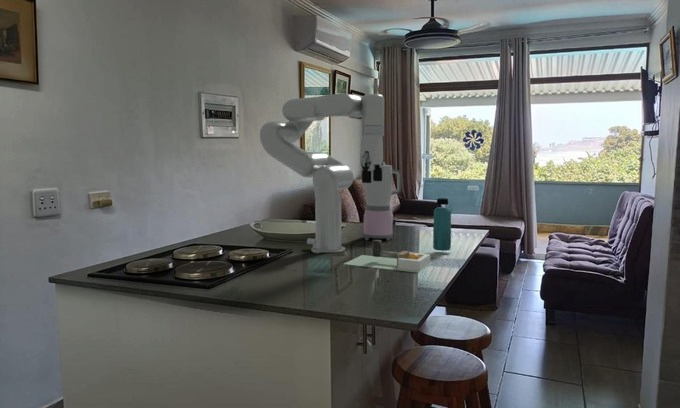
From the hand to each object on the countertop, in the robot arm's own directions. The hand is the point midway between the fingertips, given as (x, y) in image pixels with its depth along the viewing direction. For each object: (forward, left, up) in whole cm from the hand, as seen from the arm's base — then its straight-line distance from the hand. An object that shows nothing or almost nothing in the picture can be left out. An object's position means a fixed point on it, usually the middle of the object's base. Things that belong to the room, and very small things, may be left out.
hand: (372, 181), depth 173 cm
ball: (+19, -10, -23) cm, 31 cm away
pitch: (+10, -10, -26) cm, 30 cm away
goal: (+19, -10, -25) cm, 33 cm away
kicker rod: (+10, -10, -25) cm, 29 cm away
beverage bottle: (+20, +18, -26) cm, 38 cm away
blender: (-10, +35, -26) cm, 45 cm away
